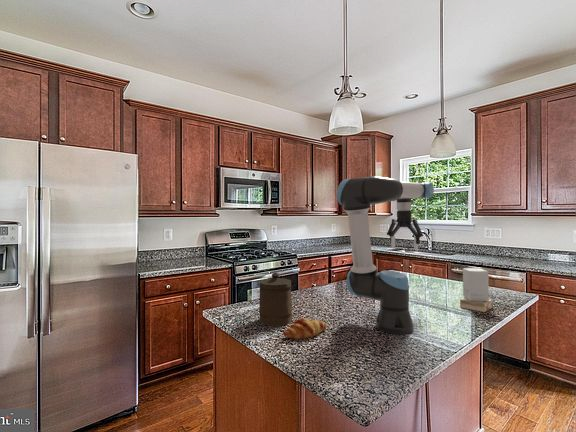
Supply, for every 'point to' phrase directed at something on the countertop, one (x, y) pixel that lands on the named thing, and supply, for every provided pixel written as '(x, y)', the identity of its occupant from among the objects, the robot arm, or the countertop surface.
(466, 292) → the supplement box
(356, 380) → the countertop surface
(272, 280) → the wooden container
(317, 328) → the croissant
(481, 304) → the tan picture frame
